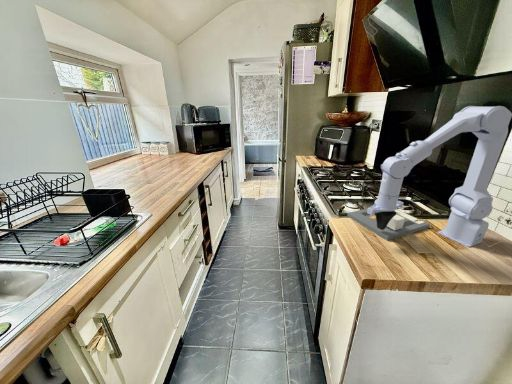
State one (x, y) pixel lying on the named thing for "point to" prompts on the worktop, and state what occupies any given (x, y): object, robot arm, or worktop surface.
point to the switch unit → (370, 223)
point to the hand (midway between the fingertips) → (380, 228)
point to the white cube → (396, 222)
